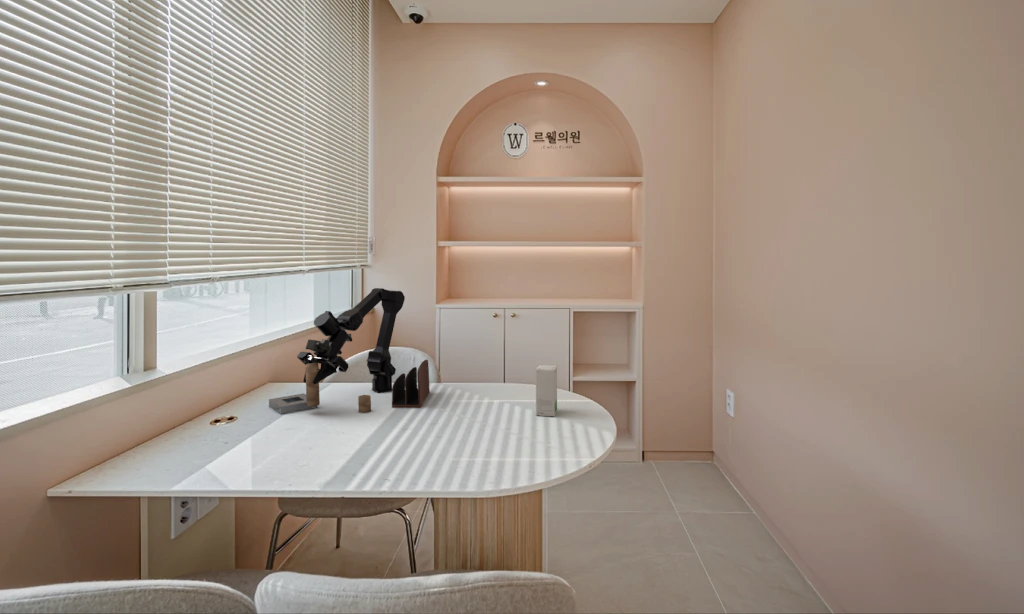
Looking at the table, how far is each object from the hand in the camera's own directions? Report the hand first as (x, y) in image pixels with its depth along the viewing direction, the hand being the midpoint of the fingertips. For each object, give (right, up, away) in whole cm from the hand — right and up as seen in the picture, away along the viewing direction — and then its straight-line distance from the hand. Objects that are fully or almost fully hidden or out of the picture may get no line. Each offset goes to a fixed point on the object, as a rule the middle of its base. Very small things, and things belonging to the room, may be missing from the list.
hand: (309, 382), depth 170 cm
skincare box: (+77, -11, +4) cm, 78 cm away
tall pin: (+1, -7, +2) cm, 8 cm away
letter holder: (+30, -9, +19) cm, 36 cm away
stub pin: (+17, -10, +5) cm, 20 cm away
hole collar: (-9, -10, +9) cm, 16 cm away
